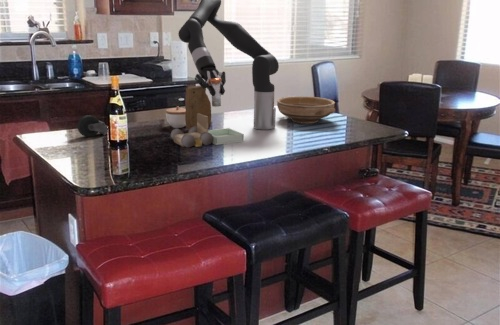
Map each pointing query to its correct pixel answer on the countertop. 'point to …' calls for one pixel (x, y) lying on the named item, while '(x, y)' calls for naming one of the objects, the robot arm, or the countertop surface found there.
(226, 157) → the countertop surface
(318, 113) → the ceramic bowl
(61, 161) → the countertop surface
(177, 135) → the trolley
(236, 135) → the tray
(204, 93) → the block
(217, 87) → the copper topped glass grinder
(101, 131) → the caster wheel
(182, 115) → the lidded jar
